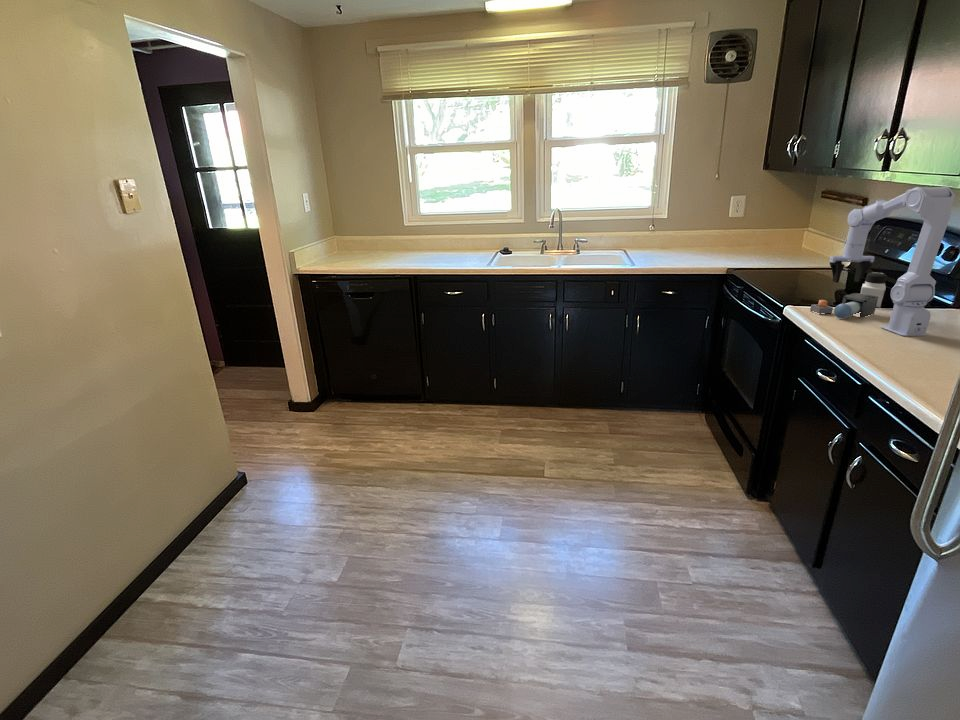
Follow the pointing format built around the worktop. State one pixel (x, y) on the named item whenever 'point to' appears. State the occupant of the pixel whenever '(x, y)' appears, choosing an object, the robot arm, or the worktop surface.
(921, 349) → the worktop surface
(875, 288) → the medicine bottle
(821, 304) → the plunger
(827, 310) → the block
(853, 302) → the cylinder
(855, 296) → the block
